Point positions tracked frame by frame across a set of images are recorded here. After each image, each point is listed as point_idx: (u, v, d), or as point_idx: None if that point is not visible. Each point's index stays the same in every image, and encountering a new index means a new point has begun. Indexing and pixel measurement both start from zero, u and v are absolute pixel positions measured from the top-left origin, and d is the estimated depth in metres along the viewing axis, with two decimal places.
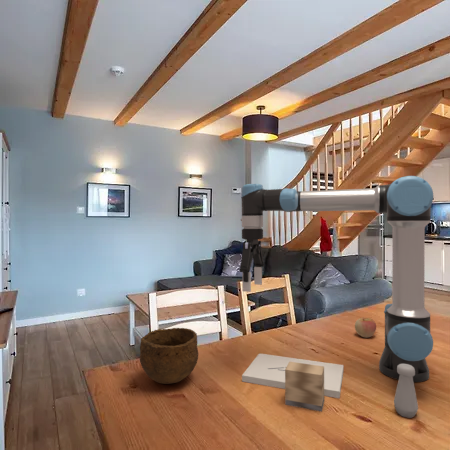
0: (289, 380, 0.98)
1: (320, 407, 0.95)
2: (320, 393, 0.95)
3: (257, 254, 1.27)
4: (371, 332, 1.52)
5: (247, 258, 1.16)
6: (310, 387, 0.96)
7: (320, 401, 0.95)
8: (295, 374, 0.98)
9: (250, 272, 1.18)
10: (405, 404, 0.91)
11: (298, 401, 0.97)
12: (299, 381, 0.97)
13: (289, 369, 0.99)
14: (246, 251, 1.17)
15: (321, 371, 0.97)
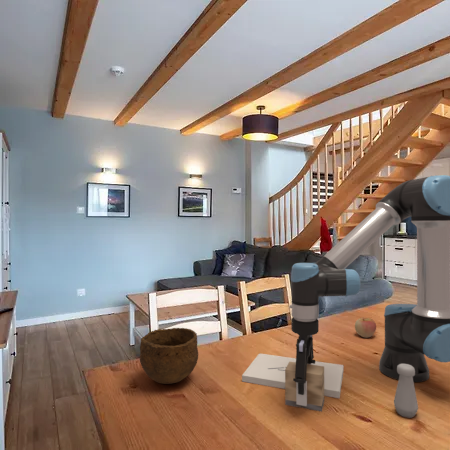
0: (289, 380, 0.98)
1: (320, 407, 0.95)
2: (320, 393, 0.95)
3: None
4: (371, 332, 1.52)
5: (303, 366, 0.92)
6: (310, 387, 0.96)
7: (320, 401, 0.95)
8: None
9: (306, 381, 0.94)
10: (405, 404, 0.91)
11: None
12: None
13: (289, 369, 0.99)
14: (301, 356, 0.93)
15: (321, 371, 0.97)
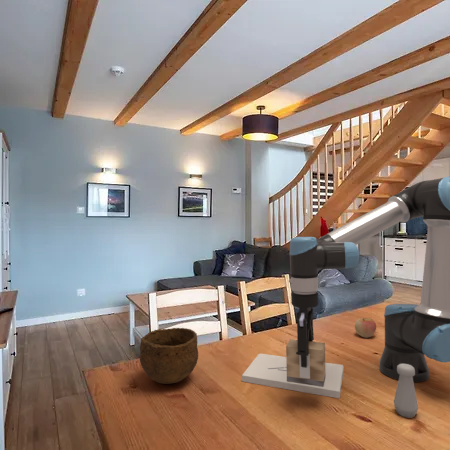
0: (290, 356, 0.98)
1: (322, 382, 0.95)
2: (321, 368, 0.95)
3: None
4: (371, 332, 1.52)
5: (305, 340, 0.93)
6: (311, 363, 0.96)
7: (321, 376, 0.95)
8: (296, 350, 0.98)
9: (309, 354, 0.96)
10: (405, 404, 0.91)
11: (299, 377, 0.97)
12: None
13: (290, 345, 0.99)
14: (302, 330, 0.93)
15: (322, 347, 0.97)
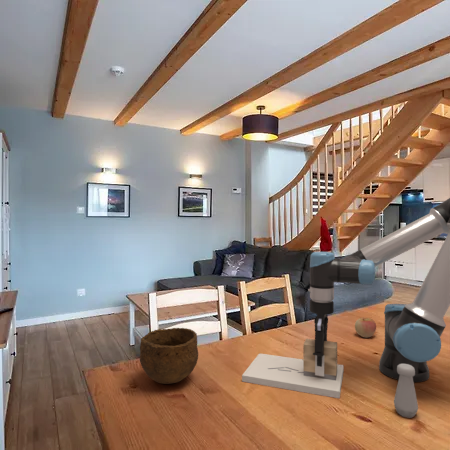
0: (307, 354, 1.12)
1: (334, 376, 1.09)
2: (334, 364, 1.09)
3: None
4: (371, 332, 1.52)
5: (321, 342, 1.07)
6: (326, 359, 1.10)
7: (334, 371, 1.09)
8: (312, 348, 1.11)
9: None
10: (405, 404, 0.91)
11: None
12: None
13: (306, 344, 1.13)
14: (319, 334, 1.07)
15: (335, 345, 1.11)
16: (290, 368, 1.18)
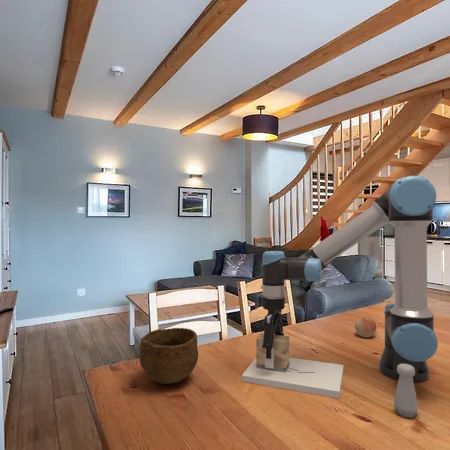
0: (259, 347, 1.18)
1: (284, 369, 1.15)
2: (284, 357, 1.15)
3: (278, 323, 1.21)
4: (371, 332, 1.52)
5: (270, 334, 1.11)
6: (276, 352, 1.16)
7: (284, 364, 1.15)
8: None
9: (273, 348, 1.13)
10: (405, 404, 0.91)
11: None
12: None
13: (259, 338, 1.19)
14: (268, 326, 1.12)
15: (286, 339, 1.17)
16: (290, 368, 1.18)
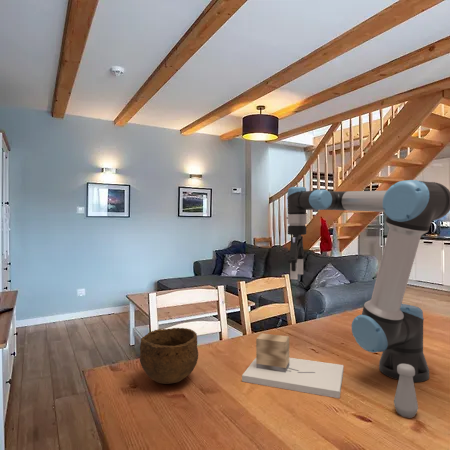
0: (259, 347, 1.18)
1: (284, 369, 1.15)
2: (284, 357, 1.15)
3: (300, 248, 1.46)
4: None
5: (295, 250, 1.36)
6: (276, 352, 1.16)
7: (284, 364, 1.15)
8: (264, 342, 1.17)
9: (297, 263, 1.37)
10: (405, 404, 0.91)
11: (266, 365, 1.17)
12: (267, 347, 1.17)
13: (259, 338, 1.19)
14: (294, 244, 1.37)
15: (286, 339, 1.17)
16: (290, 368, 1.18)
